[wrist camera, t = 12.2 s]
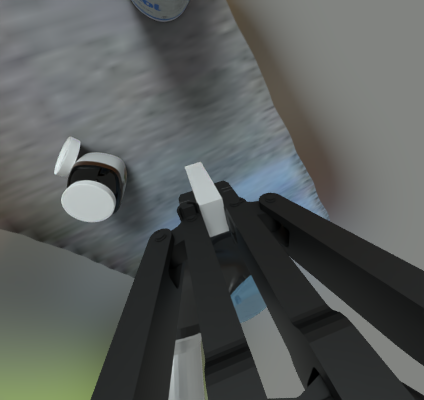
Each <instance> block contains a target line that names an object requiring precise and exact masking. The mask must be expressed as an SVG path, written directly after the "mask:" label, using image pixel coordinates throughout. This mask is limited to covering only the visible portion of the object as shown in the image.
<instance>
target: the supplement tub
mask: <svg viewBox="0 0 424 400" xmlns="http://www.w3.org/2000/svg"><path fill="white" fill-rule="evenodd" d="M131 1H132V2H133V3H134V5H135V6H136V7H137V8H138V9H139V10H140V11H141V12H142V13H143V14H145V15H146V16H148V17H149V18H151V19H154V20H156V21H161V22H168V21H172V20H174V19H176V18H177V17H179V16H180V15H181V14H182V13H183V12H184V10H185V9H186V7H187V5H188V3H189V0H131Z"/></svg>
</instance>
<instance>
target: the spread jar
mask: <svg viewBox="0 0 424 400" xmlns="http://www.w3.org/2000/svg"><path fill="white" fill-rule="evenodd" d="M80 144H81V143H80V140H78V139H75V138H73V137H71V136H70V137H69V138H68V139H67V140H66V142H65V144H64V146H63V148H62V150H61V152H60V154H59V157H58V160H57V163H56V166H55V171H54V174H55V175H58V176H62V177H67V176H68V174H69V177H68V182H67V189H66V190H65V191H64V193H63V195H62V198H61V203H62V206H63V208H64V209H65V211H66V212H67V213H68V214H69V215H71V216H72V217H74V218H76V219H78V220H81V221H85V222H99V221H103V220H105V219H107V218H108V217H110V216H111V214H114V213H116V212H117V211H118V209H119V207H120V205H121V202H122V198H123V195H124V192H125V188H126V183H127V170H126V166H125V163H124V162H123V160H122V159H120V158H119V157H117V156H114V155H111V154H107V153H100V152H92V153H87V154H85V155H83V156H82V157H80V158H79V159H78V160H77V161H76V159H77V156H78V153H79V150H80ZM75 161H76V162H75Z"/></svg>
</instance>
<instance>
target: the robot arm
mask: <svg viewBox="0 0 424 400" xmlns="http://www.w3.org/2000/svg"><path fill="white" fill-rule="evenodd" d="M185 169H186V172H187V175H188V178H189V181H190V184H191V187H192V190H193V191H191V192H187V193H184V194H181V195H180V197H179V203H180V206H179V207H178V208H177V213H178V215H179V218H180V220H181V223H180V225H179V226H178V227H176V228H175V229H173V230H172V231H170V230H169V229H160V230H158V231H156V232H154V233H153V234H152V235H151V237H150V238H149V241H148V244H147V247H146V249H145V252H144V255H143V258H142V260H141V263H140V266H139V268H138V271H137V274H136V277H135V279H134V282H133V285H132V288H131V290H130V293H129V296H128V299H127V302H126V304H125V307H124V310H123V312H122V315H121V318H120V321H119V323H118V326H117V329H116V332H115V335H114V337H113V340H112V343H111V345H110V348H109V351H108V353H107V356H106V359H105V362H104V364H103V367H102V370H101V373H100V376H99V378H98V381H97V384H96V386H95V389H94V392H93V395H92V397H91V400H205V398H204V384H203V372H202V358H201V344H200V342H201V340H202V342H203V349H204V354H205V381H206V389H207V394H208V400H424V395H422V394H420V393H419V392H417V391H415V390H414V389H412V388H411V387H409V386H407V385H406V384H404V383H402V382H401V381H399V379H398V378H397V377H396V376H395V375H394V373H393V372H392V371H391V370H390V368H389V367H388V366H387V365H386V364H385V362H384V361H383V360H382V359H381V358H380V356H379V355H378V354H377V353H376V351H375V350H374V349H373V348H372V347H371V345H370V344H369V343H368V342H367V341H366V339H365V338H364V337H363V336H362V335H361V334H360V332H359V331H358V330H357V329H356V327H355V326H354V325H353V324H352V323H351V322H350V321H349V320H348V318H347V317H345V316H344V315H343V314H342V313H340V312H337V311H334V310H332V309H331V308H330V307H329V306H328V305H327V304H326V303H325V301H324V300H323V299H322V298H321V296H320V295H319V294H318V293H317V291H316V290H315V289H314V288H313V286H312V285H311V284H310V283H309V281H308V280H307V279H306V277H305V276H304V275H303V273H302V272H301V271H300V269H299V268H298V267H297V266H296V264H295V263H294V262H293V261H292V259H293V260H295V261H296V262H297V263H298V264H299V265H301V266H302V267H303V268H304V269H305V270H307V271H308V272H309V273H310V274H311V275H313V276H314V277H315V278H316V279H318V280H319V281H320V282H321V283H322V284H324V285H325V286H326V287H327V288H328V289H329V290H331V291H332V292H333V293H334V294H335V295H337V296H338V297H339V298H340V299H342V300H343V301H344V302H345V303H346V304H347V305H349V306H350V307H351V308H352V309H353V310H355V311H356V312H357V313H358V314H360V315H361V316H362V317H363V318H364V319H365V320H367V321H368V322H369V323H370V324H372V325H373V326H374V327H375V328H376V329H378V330H379V331H380V332H381V333H382V334H383V335H385V336H386V337H387V338H388V339H390V340H391V341H392V342H393V343H394V344H395V345H397V346H398V347H399V348H401V349H402V350H403V351H405V352H406V353H407V354H408V355H410V356H411V357H412V358H413V359H415V360H416V361H418V362H419V363H420V364H422V365H423V366H424V271H423V270H421V269H419V268H417V267H415V266H413V265H411V264H410V263H408V262H406V261H404V260H402V259H400V258H398V257H396V256H394V255H393V254H391V253H389V252H387V251H385V250H383V249H381V248H379V247H377V246H375V245H373V244H372V243H370V242H368V241H366V240H364V239H362V238H360V237H358V236H356V235H355V234H353V233H351V232H349V231H347V230H345V229H343V228H341V227H339V226H337V225H335V224H334V223H332V222H330V221H328V220H326V219H324V218H322V217H320V216H318V215H317V214H315V213H313V212H311V211H309V210H307V209H305V208H303V207H301V206H299V205H298V204H296V203H294V202H292V201H290V200H288V199H286V198H284V197H282V196H281V195H279V194H276V193H266V194H263V195H262V196H260V198H259V201H255V202H246V200H245V199H243V198H240V197H238V195H237V194H236V193H235V191H234V190H233V189H232V187H231V186H230V185H229V183H228V182H226V181H220V182H217V183H214V184H213V182H212V180H211V178H210V177H209V175H208V173H207V172H206V170H205V168H204V166H203V165H202V163H201V162H198V163H195V164H192V165H189V166H185ZM289 256H290V257H291V258H292V259H291V258H290V257H289ZM266 307H267V308H268V310H269V312H270V314H271V316H272V318H273V320H274V322H275V324H276V326H277V328H278V330H279V332H280V334H281V336H282V338H283V340H284V342H285V344H286V346H287V348H288V350H289V353H290V355H291V358H292V361H293V364H294V367H295V369H296V372H297V374H298V376H299V378H300V380H301V382H302V384H303V387H304V388H305V391H304V392H303V393H302V394H301V395H300V396H299V397H297V398H278V399H277V398H276V399H267V396H266V394H265V391H264V388H263V385H262V382H261V379H260V377H259V374H258V371H257V368H256V365H255V363H254V360H253V357H252V354H251V352H250V349H249V347H248V344H247V341H246V338H245V336H244V333H243V330H242V327H241V324H240V323H242V322H245V321H247V320H249V319H251V318H253V317H254V316H256V315H257V314H259V313H260V312H261V311H263V310H264V309H265V308H266Z"/></svg>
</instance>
